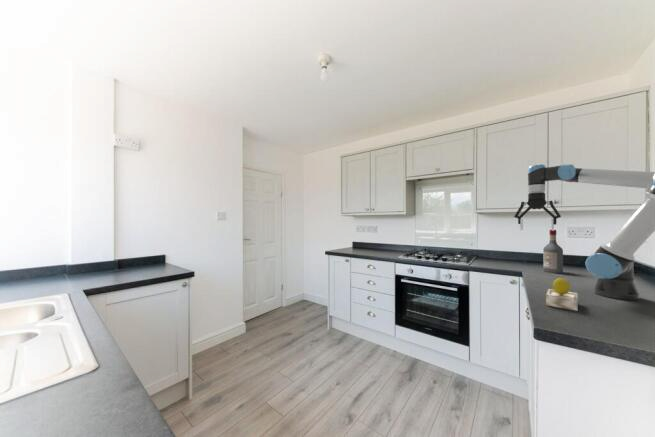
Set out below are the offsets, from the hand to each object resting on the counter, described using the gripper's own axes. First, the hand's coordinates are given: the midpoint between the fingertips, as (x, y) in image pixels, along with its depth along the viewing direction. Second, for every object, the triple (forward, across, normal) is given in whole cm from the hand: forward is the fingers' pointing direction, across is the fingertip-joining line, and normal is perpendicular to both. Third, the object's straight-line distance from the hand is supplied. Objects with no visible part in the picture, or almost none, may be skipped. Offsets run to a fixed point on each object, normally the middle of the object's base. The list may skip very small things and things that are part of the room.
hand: (536, 230), depth 144 cm
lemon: (+28, -11, +31) cm, 43 cm away
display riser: (+32, -12, +31) cm, 46 cm away
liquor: (+32, -4, -57) cm, 65 cm away
